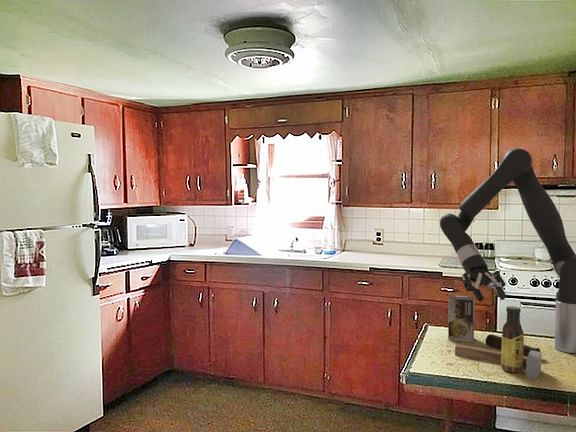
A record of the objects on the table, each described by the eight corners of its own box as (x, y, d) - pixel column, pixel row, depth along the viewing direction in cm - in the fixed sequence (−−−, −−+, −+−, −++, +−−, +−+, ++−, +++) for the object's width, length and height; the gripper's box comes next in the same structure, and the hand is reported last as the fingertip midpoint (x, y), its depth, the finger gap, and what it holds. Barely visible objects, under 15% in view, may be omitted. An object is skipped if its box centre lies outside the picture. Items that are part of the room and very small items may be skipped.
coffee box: (474, 338, 185) (475, 296, 184) (473, 343, 179) (474, 300, 178) (449, 335, 188) (449, 294, 187) (447, 340, 183) (448, 297, 182)
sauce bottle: (518, 375, 148) (520, 311, 147) (498, 370, 153) (499, 308, 151) (525, 369, 153) (527, 307, 152) (505, 364, 157) (506, 304, 156)
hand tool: (541, 359, 163) (541, 345, 163) (535, 361, 161) (535, 347, 160) (490, 344, 178) (490, 331, 178) (483, 346, 176) (483, 333, 176)
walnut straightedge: (457, 352, 169) (457, 344, 169) (529, 366, 156) (530, 357, 156) (454, 354, 167) (455, 346, 167) (528, 368, 154) (528, 359, 154)
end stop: (530, 368, 153) (530, 350, 153) (540, 370, 152) (541, 352, 151) (526, 377, 147) (526, 357, 146) (537, 379, 145) (537, 359, 145)
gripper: (458, 254, 167) (479, 295, 156) (494, 253, 170) (516, 292, 160) (449, 267, 172) (469, 307, 162) (483, 265, 176) (505, 304, 165)
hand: (492, 299), depth 161 cm, fingers open, 8 cm apart
